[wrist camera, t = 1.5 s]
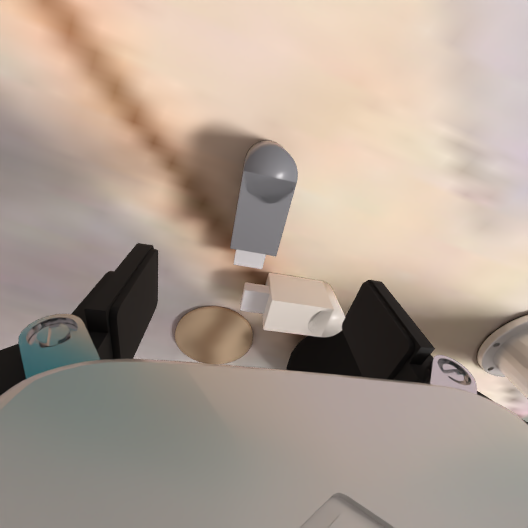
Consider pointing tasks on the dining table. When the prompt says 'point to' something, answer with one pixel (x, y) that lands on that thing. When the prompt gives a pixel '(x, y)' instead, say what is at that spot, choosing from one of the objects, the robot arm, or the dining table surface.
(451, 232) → the dining table surface
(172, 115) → the dining table surface
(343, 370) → the black capped bottle
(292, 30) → the dining table surface
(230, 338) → the cork coaster
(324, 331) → the cream plug
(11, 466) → the robot arm
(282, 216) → the grey plug
